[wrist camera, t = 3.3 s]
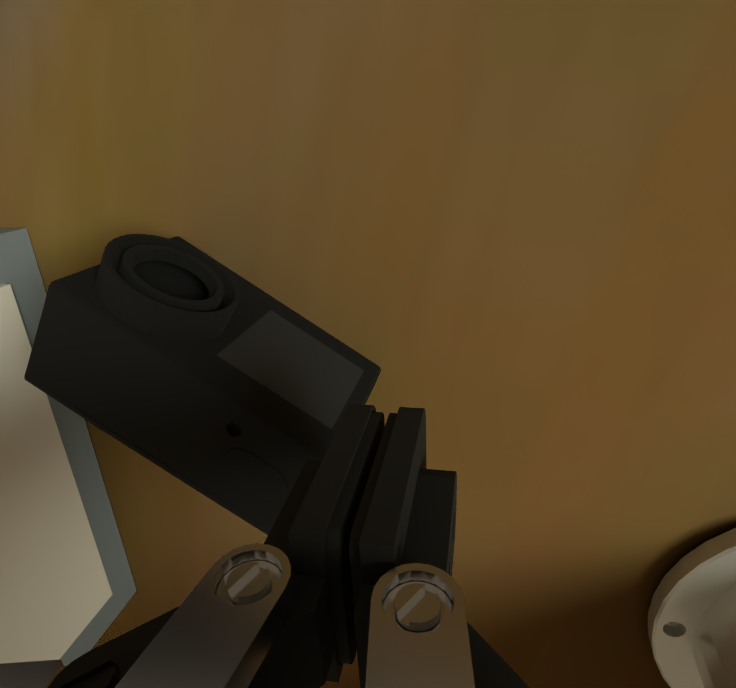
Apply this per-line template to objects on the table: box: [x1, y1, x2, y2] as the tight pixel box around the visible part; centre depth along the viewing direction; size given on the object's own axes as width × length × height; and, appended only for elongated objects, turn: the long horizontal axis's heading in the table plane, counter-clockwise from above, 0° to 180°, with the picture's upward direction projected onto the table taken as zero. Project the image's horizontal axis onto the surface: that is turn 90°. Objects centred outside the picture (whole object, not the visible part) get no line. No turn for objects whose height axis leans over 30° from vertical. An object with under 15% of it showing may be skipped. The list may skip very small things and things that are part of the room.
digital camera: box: [24, 234, 381, 535], centre depth 19 cm, size 10×5×7 cm, turn 59°
